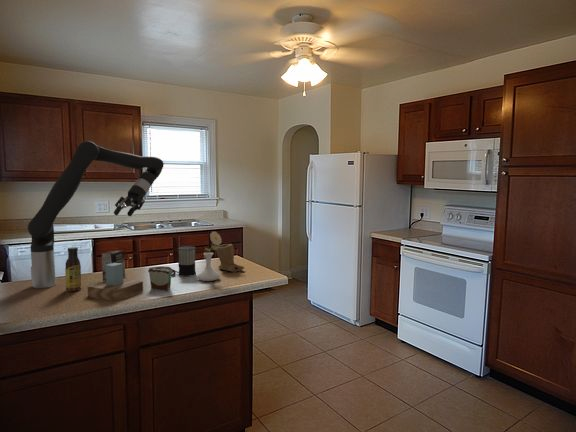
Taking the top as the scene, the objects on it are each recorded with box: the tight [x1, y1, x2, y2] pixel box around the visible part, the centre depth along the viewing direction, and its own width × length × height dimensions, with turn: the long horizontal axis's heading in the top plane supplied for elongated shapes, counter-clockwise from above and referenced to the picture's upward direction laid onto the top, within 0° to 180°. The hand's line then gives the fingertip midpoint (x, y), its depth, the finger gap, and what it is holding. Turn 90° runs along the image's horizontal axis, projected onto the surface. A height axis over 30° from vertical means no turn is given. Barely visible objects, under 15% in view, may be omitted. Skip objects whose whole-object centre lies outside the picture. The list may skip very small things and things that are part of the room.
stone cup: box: [215, 243, 245, 273], centre depth 213 cm, size 15×12×15 cm
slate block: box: [105, 263, 124, 286], centre depth 168 cm, size 5×5×9 cm
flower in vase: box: [196, 231, 223, 282], centre depth 193 cm, size 13×11×25 cm
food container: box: [147, 266, 173, 292], centre depth 177 cm, size 12×6×10 cm, turn 71°
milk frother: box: [171, 245, 197, 277], centre depth 202 cm, size 14×16×15 cm
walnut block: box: [87, 278, 144, 302], centre depth 170 cm, size 16×16×5 cm
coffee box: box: [101, 249, 126, 282], centre depth 184 cm, size 9×6×16 cm
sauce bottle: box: [64, 246, 82, 292], centre depth 174 cm, size 7×6×20 cm
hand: (121, 214), depth 177 cm, fingers open, 8 cm apart
